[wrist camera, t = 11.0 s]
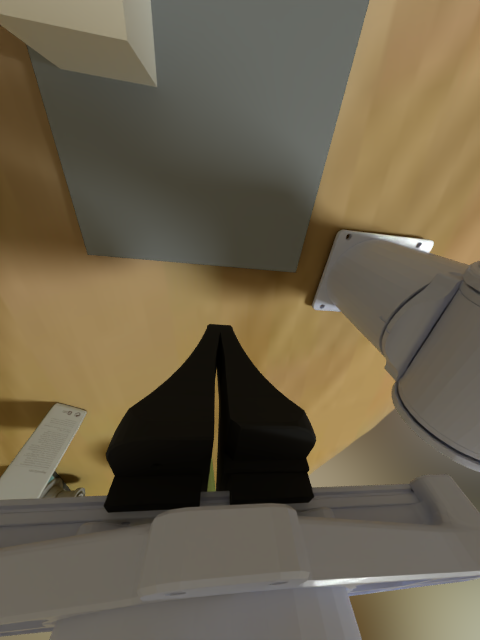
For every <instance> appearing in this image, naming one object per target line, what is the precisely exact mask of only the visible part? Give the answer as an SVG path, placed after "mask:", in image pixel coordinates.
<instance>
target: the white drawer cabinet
mask: <svg viewBox="0 0 480 640" xmlns="http://www.w3.org/2000/svg"><path fill="white" fill-rule="evenodd" d="M0 25H1V26H2V27H4V28H5V29H7V30H8V31H9V32H11V33H12V34H13V35H15V36H16V37H17V38H19V39H20V40H21V41H23V42H24V43H26V44H27V45H28V46H30V47H31V48H32V49H34V50H35V51H36V52H38V53H39V54H41V55H42V56H43V57H45V58H46V59H47V60H49V61H50V62H51V63H53V64H54V65H56V66H57V67H58V68H60V69H63V70H68V71H73V72H79V73H84V74H89V75H95V76H100V77H105V78H111V79H116V80H121V81H127V82H132V83H137V84H143V85H148V86H153V87H157V77H156V64H155V51H154V37H153V24H152V11H151V0H0Z"/></svg>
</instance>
